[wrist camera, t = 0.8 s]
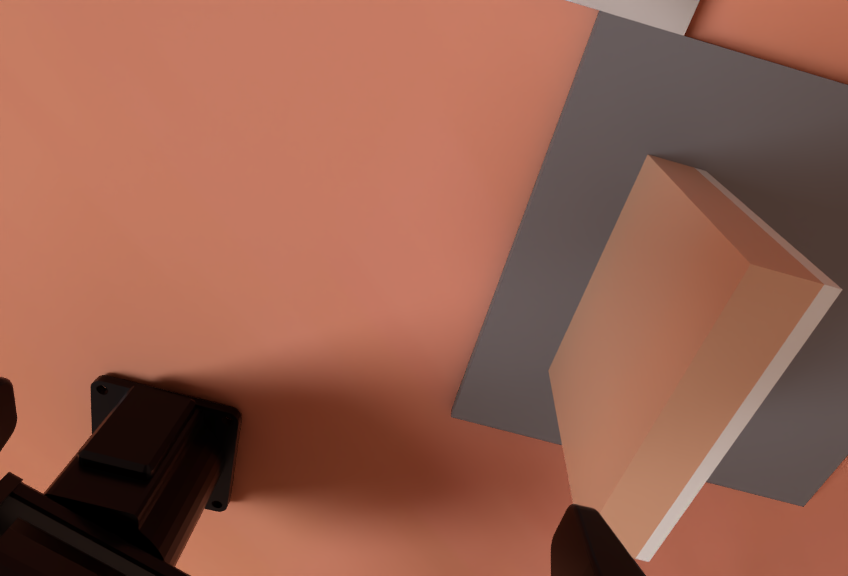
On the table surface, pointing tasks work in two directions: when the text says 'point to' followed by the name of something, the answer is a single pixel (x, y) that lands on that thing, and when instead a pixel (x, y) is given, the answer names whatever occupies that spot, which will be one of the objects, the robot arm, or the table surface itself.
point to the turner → (649, 11)
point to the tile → (676, 348)
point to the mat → (606, 196)
